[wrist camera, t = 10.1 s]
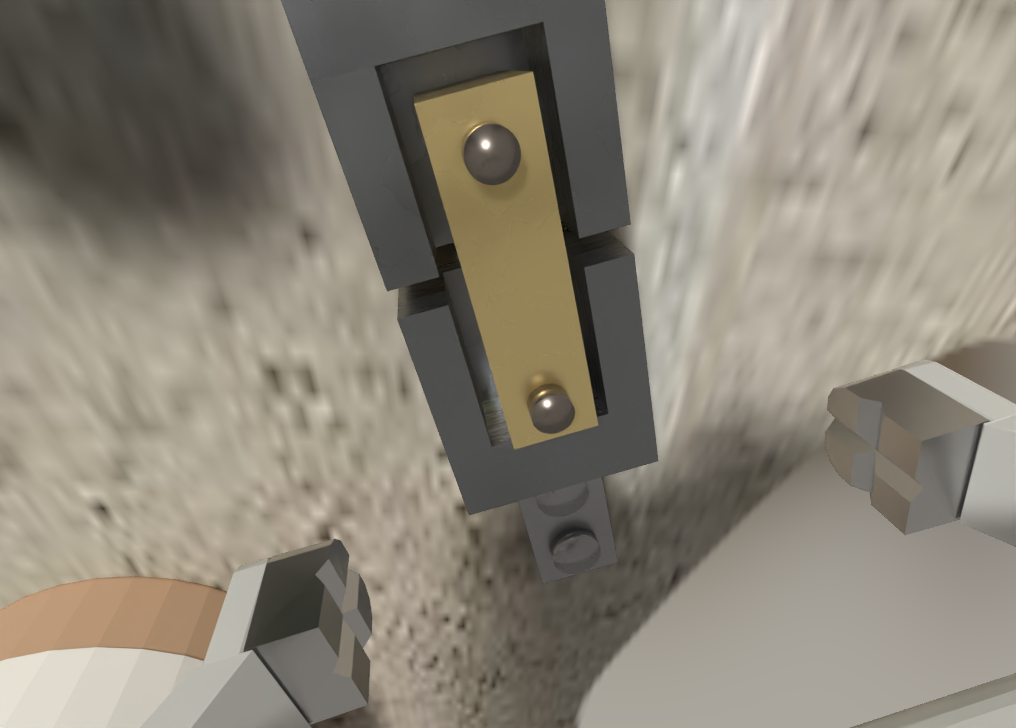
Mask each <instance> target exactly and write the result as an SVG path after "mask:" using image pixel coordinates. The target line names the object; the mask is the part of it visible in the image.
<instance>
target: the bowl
mask: <svg viewBox="0 0 1016 728" xmlns="http://www.w3.org/2000/svg"><path fill="white" fill-rule="evenodd" d="M226 594H227V592H226V591H223V590H220V589H217V588H214V587H211V586H207V585H202V584H196V583H191V582H186V581H181V580H176V579H166V578H152V577H138V576H131V577H112V578H95V579H90V580H84V581H79V582H74V583H68V584H63V585H58V586H55V587H52V588H49V589H46V590H43V591H41V592H38V593H35V594H32V595H29V596H26V597H24V598H22V599H20V600H18V601H17V602H15V603H13V604H11V605H10V606H8V607H6V608H4V609H2V610H1V611H0V728H140V727H141V726H142V725H143V723H144V722H145V721H146V720H147V719H148V718H149V717H150V716H151V714H152V713H153V712H154V711H155V710H156V709H157V708H158V706H159V705H160V704H161V703H162V702H163V701H164V700H165V699H166V697H167V696H168V695H169V694H170V693H171V692H172V691H173V689H174V688H175V687H176V686H177V685H178V684H179V683H180V682H181V680H182V679H183V678H184V677H185V676H186V675H187V674H188V672H189V671H190V670H191V669H192V668H195V667H198V666H201V665H203V662H204V659H205V657H206V654H207V651H208V648H209V645H210V642H211V639H212V636H213V633H214V630H215V627H216V624H217V621H218V618H219V615H220V612H221V609H222V606H223V603H224V600H225V597H226Z"/></svg>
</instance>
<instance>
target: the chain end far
mask: <svg viewBox="0 0 1016 728" xmlns="http://www.w3.org/2000/svg"><path fill="white" fill-rule="evenodd" d="M563 236H564V242H565V247H566V253H567V258H568V263H569V269H570V274H571V280H572V285H573V290H574V296H575V301H576V307H577V312H578V317H579V323H580V328H581V334H582V339H583V345H584V350H585V355H586V361H587V366H588V372H589V377H590V382H591V388H592V393H593V399H594V404H595V409H596V415H597V420H598V426H595V427H591V428H588V429H584V430H581V431H577V432H574V433H570V434H567V435H563V436H560V437H556V438H553V439H549V440H546V441H543V442H539V443H536V444H532V445H529V446H525V447H522V448H518V449H515V450H514V447H513V444H512V440H511V437H510V434H509V430H508V427H507V423H506V420H505V416H504V413H503V409H502V406H501V402H500V399H499V395H498V392H497V389H496V385H495V382H494V378H493V375H492V371H491V368H490V364H489V361H488V357H487V354H486V351H485V347H484V344H483V340H482V337H481V333H480V330H479V326H478V323H477V319H476V316H475V313H474V309H473V306H472V302H471V299H470V295H469V292H468V288H467V285H466V281H465V278H464V274H463V271H462V268H461V264H460V261H459V262H455V263H451V264H448V265H444V266H440V267H438V271H439V277H437V278H434V279H430V280H426V281H423V282H419V283H415V284H412V285H408V286H405V287H401V288H399V296H398V317H397V320H398V322H399V325H400V328H401V330H402V333H403V336H404V339H405V341H406V344H407V347H408V350H409V352H410V355H411V358H412V361H413V363H414V366H415V369H416V372H417V374H418V377H419V380H420V383H421V385H422V388H423V391H424V393H425V396H426V399H427V402H428V404H429V407H430V410H431V413H432V415H433V418H434V421H435V424H436V426H437V429H438V432H439V435H440V437H441V440H442V443H443V445H444V448H445V451H446V454H447V456H448V459H449V462H450V465H451V467H452V470H453V473H454V476H455V478H456V481H457V484H458V487H459V489H460V492H461V495H462V498H463V500H464V503H465V506H466V508H467V511H468V514H469V515H472V514H475V513H479V512H482V511H486V510H489V509H493V508H496V507H500V506H503V505H507V504H510V503H513V502H517V501H518V502H519V505H520V509H521V512H522V515H523V519H524V522H525V526H526V529H527V532H528V536H529V539H530V542H531V546H532V549H533V552H534V556H535V559H536V563H537V566H538V569H539V573H540V576H541V579H542V583H543V584H545V583H549V582H552V581H555V580H559V579H562V578H566V577H569V576H573V575H576V574H579V573H583V572H586V571H590V570H593V569H597V568H600V567H604V566H607V565H610V564H614V563H617V562H618V560H617V555H616V550H615V544H614V539H613V534H612V528H611V523H610V518H609V512H608V507H607V502H606V496H605V491H604V486H603V480H602V477H604V476H608V475H611V474H615V473H618V472H622V471H625V470H628V469H632V468H635V467H639V466H642V465H646V464H649V463H653V462H656V461H658V455H657V446H656V438H655V429H654V421H653V412H652V403H651V395H650V386H649V378H648V369H647V360H646V352H645V343H644V335H643V326H642V317H641V309H640V300H639V292H638V283H637V274H636V266H635V257H634V253H633V252H631V251H630V250H629V249H628V248H627V247H625V246H624V245H623V244H622V243H621V242H620V241H618V240H617V239H616V238H615V237H614V236H612V235H611V234H610V233H609V232H608V231H604V232H601V233H597V234H594V235H590V236H586V237H583V238H579V237H578V236H577V235H576V234H575V233H574V232H573V231H572V230H571V231H568V232H564V233H563Z"/></svg>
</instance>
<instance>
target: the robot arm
mask: <svg viewBox="0 0 1016 728" xmlns="http://www.w3.org/2000/svg"><path fill="white" fill-rule="evenodd" d="M827 410H828V411H829V412H830V413H831V414H832V415H833V416H834V417H835V419H834V420H833V422H832V423H831V425H830V426H829V427H828V429H827V430H826V438H825V448H826V451H827V454H828V457H829V459H830V462H831V464H832V465H833V467H834V468H835V470H836V471H837V473H838V474H839V475H840V476H841V477H842V478H843V479H844V480H845V481H846V482H847V483H848V484H849V485H850V486H853V487H856V488H859V489H862V490H865V491H868V492H870V498H871V505H872V506H873V507H874V508H875V509H877V510H878V511H879V512H880V513H881V514H882V515H883V516H884V517H885V518H887V519H888V520H889V521H890V522H891V523H892V524H893V525H894V526H895V527H897V528H898V529H899V530H900V531H901V532H902V533H903V534H904V535H907V534H911V533H914V532H918V531H921V530H924V529H928V528H932V527H935V526H939V525H942V524H946V523H949V522H953V521H956V520H960V521H959V523H961V524H963V525H966V526H968V527H971V528H973V529H975V530H978V531H980V532H982V533H985V534H987V535H989V536H992V537H994V538H996V539H999V540H1001V541H1003V542H1006V543H1008V544H1010V545H1013V546H1015V547H1016V404H1014V403H1012V402H1010V401H1008V400H1006V399H1004V398H1002V397H1001V396H999V395H997V394H995V393H993V392H991V391H989V390H987V389H986V388H984V387H982V386H980V385H978V384H976V383H974V382H972V381H970V380H968V379H967V378H965V377H963V376H961V375H959V374H957V373H955V372H954V371H952V370H950V369H948V368H946V367H944V366H942V365H940V364H939V363H937V362H934V361H928V360H920V361H917V362H914V363H911V364H908V365H905V366H902V367H899V368H895V369H893V370H891V371H888V372H884V373H881V374H878V375H875V376H872V377H868V378H865V379H862V380H859V381H855V382H852V383H849V384H846V385H843V386H839V387H836V388H833V390H832V391H831V393H830V395H829V397H828V406H827ZM348 561H349V554H348V552H347V551H346V549H345V547H344V545H343V544H342V542H341V541H340V540H336V539H333V540H329V541H326V542H322V543H318V544H315V545H311V546H307V547H304V548H300V549H297V550H293V551H289V552H286V553H282V554H279V555H275V556H273V557H271V558H267V559H263V560H259V561H256V562H252V563H248V564H245V565H241V566H240V567H239V568H238V569H237V570H236V571H235V572H234V574H233V576H232V579H231V582H230V585H229V588H228V591H227V594H226V597H225V600H224V603H223V606H222V609H221V612H220V615H219V618H218V621H217V624H216V627H215V630H214V633H213V636H212V639H211V642H210V645H209V648H208V651H207V654H206V657H205V659H204V662H203V665H201V666H198V667H195V668H192V669H191V670H190V671H189V672H188V674H187V675H186V676H185V677H184V678H183V679H182V680H181V682H180V683H179V684H178V685H177V686H176V687H175V688H174V689H173V691H172V692H171V693H170V694H169V695H168V696H167V697H166V699H165V700H164V701H163V702H162V703H161V704H160V705H159V706H158V708H157V709H156V710H155V711H154V712H153V713H152V714H151V716H150V717H149V718H148V719H147V720H146V721H145V722H144V723H143V725H142V726H141V727H140V728H311V726H310V725H311V724H314V723H317V722H320V721H323V720H326V719H328V718H331V717H334V716H337V715H340V714H343V713H346V712H349V711H351V710H354V709H357V708H360V707H363V706H366V705H368V696H369V678H370V660H369V658H368V656H367V655H366V653H365V651H364V649H363V647H364V645H365V644H366V642H367V641H368V639H369V638H370V636H371V634H372V612H371V605H370V598H369V595H368V592H367V589H366V586H365V584H364V582H363V580H362V578H361V576H360V574H358V573H356V572H354V571H352V570H350V569H348ZM851 728H1016V673H1015V674H1012V675H1009V676H1006V677H1003V678H1000V679H996V680H994V681H990V682H987V683H985V684H981V685H978V686H975V687H972V688H969V689H966V690H963V691H960V692H957V693H954V694H951V695H948V696H945V697H942V698H939V699H936V700H933V701H930V702H927V703H924V704H921V705H918V706H915V707H912V708H909V709H905V710H903V711H899V712H896V713H893V714H891V715H887V716H884V717H881V718H879V719H875V720H872V721H869V722H866V723H863V724H860V725H857V726H854V727H851Z"/></svg>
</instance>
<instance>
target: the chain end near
mask: <svg viewBox="0 0 1016 728" xmlns="http://www.w3.org/2000/svg"><path fill="white" fill-rule="evenodd" d="M281 2H282V5H283V7H284V10H285V13H286V16H287V18H288V21H289V24H290V27H291V29H292V32H293V35H294V38H295V40H296V43H297V46H298V48H299V51H300V54H301V57H302V59H303V62H304V65H305V68H306V70H307V73H308V76H309V79H310V81H311V84H312V87H313V90H314V92H315V95H316V98H317V100H318V103H319V106H320V109H321V111H322V114H323V117H324V120H325V122H326V125H327V128H328V131H329V133H330V136H331V139H332V142H333V144H334V147H335V150H336V153H337V155H338V158H339V161H340V163H341V166H342V169H343V172H344V174H345V177H346V180H347V183H348V185H349V188H350V191H351V194H352V196H353V199H354V202H355V205H356V207H357V210H358V213H359V215H360V218H361V221H362V224H363V226H364V229H365V232H366V235H367V237H368V240H369V243H370V246H371V248H372V251H373V254H374V257H375V259H376V262H377V265H378V268H379V270H380V273H381V276H382V278H383V281H384V284H385V287H386V289H387V291H390V290H394V289H397V288H401V287H405V286H408V285H412V284H415V283H419V282H423V281H426V280H430V279H434V278H437V277H439V271H438V263H437V256H436V249H435V248H436V247H439V246H443V245H447V244H450V243H454V240H453V236H452V233H451V230H450V226H449V223H448V219H447V216H446V212H445V209H444V205H443V202H442V198H441V195H440V192H439V188H438V185H437V181H436V178H435V174H434V171H433V167H432V164H431V160H430V157H429V153H428V150H427V147H426V143H425V140H424V136H423V133H422V129H421V126H420V122H419V119H418V115H417V112H416V109H415V105H414V99H413V94H415V93H419V92H423V91H426V90H430V89H434V88H437V87H441V86H445V85H448V84H452V83H456V82H460V81H463V80H467V79H471V78H474V77H478V76H482V75H485V74H489V73H493V72H496V71H500V70H515V71H532V72H533V74H534V79H535V85H536V90H537V96H538V101H539V107H540V112H541V117H542V123H543V128H544V134H545V139H546V144H547V150H548V155H549V161H550V166H551V171H552V177H553V182H554V188H555V193H556V198H557V204H558V209H559V215H560V219H561V220H562V221H563V222H564V223H565V224H566V225H567V226H568V227H569V228H570V229H571V230H572V231H573V232H574V233H575V234H576V235H577V236H578V237H579V238H583V237H586V236H590V235H594V234H597V233H601V232H604V231H608V230H612V229H615V228H619V227H623V226H626V225H630V224H631V223H630V214H629V206H628V197H627V189H626V180H625V171H624V163H623V154H622V146H621V137H620V128H619V120H618V111H617V103H616V94H615V85H614V77H613V68H612V60H611V51H610V42H609V34H608V25H607V17H606V8H605V0H281Z"/></svg>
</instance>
